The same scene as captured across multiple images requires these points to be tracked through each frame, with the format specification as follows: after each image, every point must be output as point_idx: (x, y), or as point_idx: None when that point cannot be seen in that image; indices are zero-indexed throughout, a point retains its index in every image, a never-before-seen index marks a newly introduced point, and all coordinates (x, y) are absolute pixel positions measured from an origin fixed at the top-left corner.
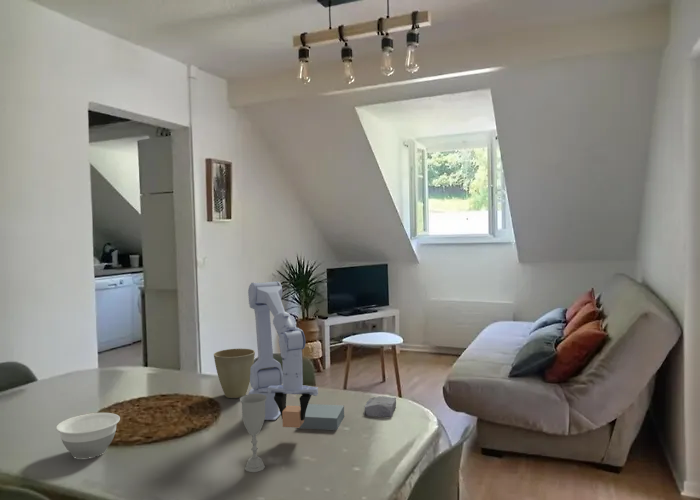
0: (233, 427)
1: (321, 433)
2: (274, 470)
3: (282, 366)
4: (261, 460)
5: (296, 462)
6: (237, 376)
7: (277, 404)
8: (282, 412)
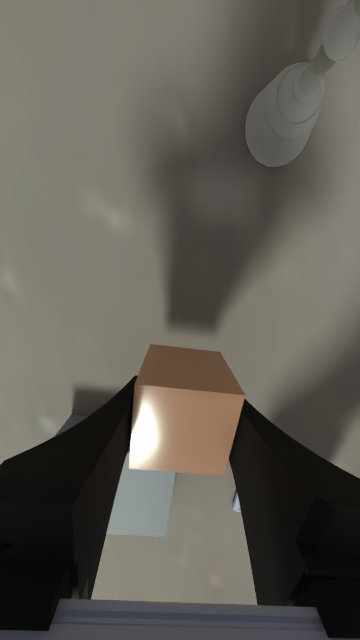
0: (349, 424)
1: (109, 392)
2: (208, 98)
3: None
4: (269, 99)
5: (142, 174)
6: None
7: (301, 446)
8: (241, 390)
